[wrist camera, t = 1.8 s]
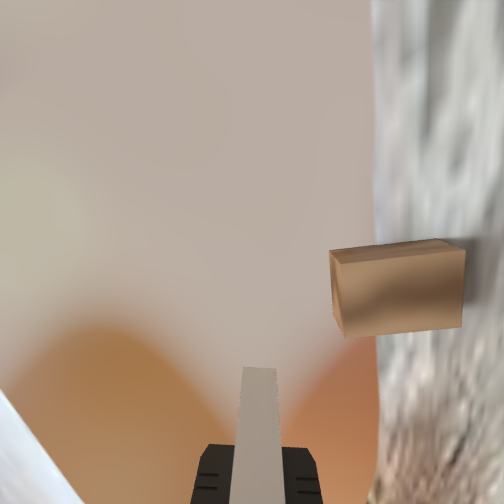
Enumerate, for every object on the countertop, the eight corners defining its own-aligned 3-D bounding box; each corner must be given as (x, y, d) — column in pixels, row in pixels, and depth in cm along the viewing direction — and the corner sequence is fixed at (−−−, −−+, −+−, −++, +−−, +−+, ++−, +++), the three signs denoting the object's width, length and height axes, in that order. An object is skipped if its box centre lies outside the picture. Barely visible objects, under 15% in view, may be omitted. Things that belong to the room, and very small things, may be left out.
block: (328, 250, 29) (340, 264, 24) (434, 237, 28) (465, 249, 24) (333, 314, 30) (344, 338, 26) (432, 304, 30) (461, 327, 25)
